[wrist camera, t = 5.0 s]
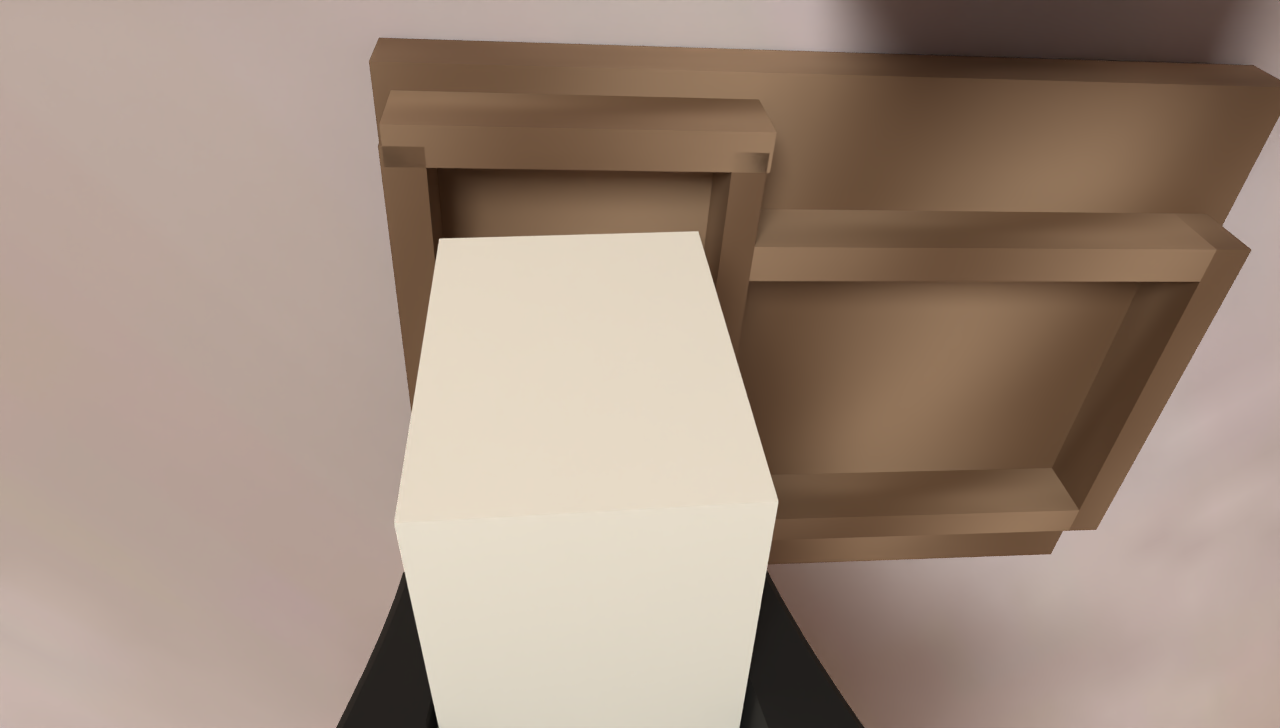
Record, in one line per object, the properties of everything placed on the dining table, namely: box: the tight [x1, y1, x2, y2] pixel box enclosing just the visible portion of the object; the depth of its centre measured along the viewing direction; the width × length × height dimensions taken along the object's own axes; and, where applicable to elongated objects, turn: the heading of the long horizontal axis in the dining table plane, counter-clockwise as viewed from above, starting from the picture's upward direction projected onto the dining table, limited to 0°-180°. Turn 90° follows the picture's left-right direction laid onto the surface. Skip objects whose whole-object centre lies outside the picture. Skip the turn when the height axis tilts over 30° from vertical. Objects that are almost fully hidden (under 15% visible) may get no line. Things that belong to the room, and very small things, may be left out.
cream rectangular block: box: [394, 231, 778, 728], centre depth 12 cm, size 3×8×5 cm, turn 179°
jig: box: [369, 38, 1280, 564], centre depth 16 cm, size 14×11×2 cm
